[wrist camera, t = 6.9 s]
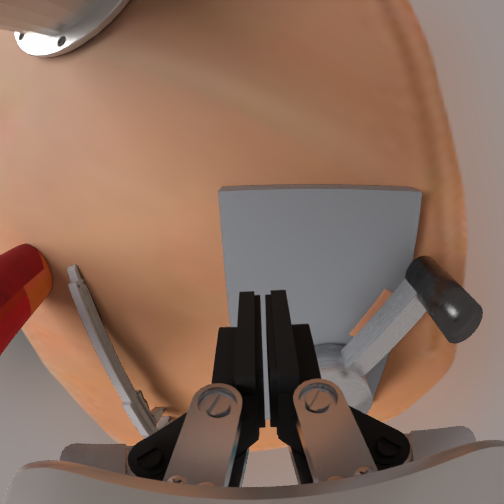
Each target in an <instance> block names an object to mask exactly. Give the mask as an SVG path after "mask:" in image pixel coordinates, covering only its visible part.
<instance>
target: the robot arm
mask: <svg viewBox="0 0 504 504" xmlns="http://www.w3.org/2000/svg"><path fill="white" fill-rule="evenodd" d="M129 1H130V0H0V29H3V30H8V31H13V32H15V38H16V41H17V44H18V46H19V47H20V48H21V50H22V51H24V52H25V53H27V54H28V55H32V56H36V57H45V58H49V57H55V56H59V55H62V54H65V53H67V52H70V51H72V50H74V49H75V48H77V47H79V46H81V45H83V44H84V43H86V42H87V41H88V40H90V39H91V38H93V37H94V36H96V35H97V34H98V33H99V32H100V31H101V30H102V29H104V28H105V27H106V26H107V25H108V24H109V23H110V22H111V21H112V20H113V19H114V18H115V17H116V16H117V15H118V14H119V13H120V12H121V11H122V10H123V8H124V7H125V6H126V4H127V3H128V2H129ZM265 310H266V343H267V366H268V386H269V406H270V426H271V427H277V435H278V438H279V439H280V440H281V441H283V442H284V443H286V444H287V445H288V448H289V452H290V455H291V460H292V463H293V467H294V470H295V474H296V478H297V481H298V485H290V486H276V487H242V484H243V479H244V473H245V469H246V464H247V459H248V454H249V447H250V446H251V445H252V444H254V443H255V442H256V441H257V440H258V439H259V428H262V427H265V402H264V374H263V348H262V324H261V300H260V295H255V294H254V291H245V292H239V305H238V320H237V327H220V328H219V332H218V339H217V346H216V354H215V362H214V369H213V377H212V384H210V385H207V386H205V387H203V388H201V389H200V390H199V391H197V392H196V393H195V395H194V397H193V399H192V401H191V404H190V407H189V410H188V412H187V413H185V414H184V415H182V416H181V417H179V418H177V419H176V420H174V421H173V422H171V423H170V424H168V425H166V426H165V427H163V428H162V429H160V430H158V431H157V432H155V433H153V434H152V435H150V436H148V437H147V438H145V439H143V440H142V441H140V442H138V443H137V444H136V445H134V446H126V444H82V443H75V444H70V445H69V446H66V447H65V448H64V450H63V451H62V453H61V456H60V461H57V460H55V461H54V460H45V461H37V462H32V463H28V464H26V465H24V466H23V467H21V468H20V469H19V470H18V471H17V473H16V474H15V476H14V477H13V479H12V481H11V483H10V485H9V486H8V489H7V491H6V494H5V496H4V499H3V502H2V504H504V441H502V440H484V441H477V442H476V439H475V436H474V434H473V432H472V431H471V430H470V429H469V428H466V427H464V426H456V427H448V428H440V429H430V430H419V431H411V432H410V433H409V434H403V433H401V432H400V431H398V430H396V429H394V428H392V427H390V426H388V425H386V424H384V423H382V422H380V421H378V420H376V419H374V418H372V417H370V416H368V415H366V414H364V413H362V412H361V411H359V410H357V409H355V408H353V407H351V406H349V405H348V403H347V401H346V399H345V397H344V395H343V392H342V391H341V389H340V388H339V386H337V385H336V384H335V383H333V382H331V381H329V380H326V379H321V374H320V369H319V365H318V361H317V356H316V352H315V347H314V343H313V339H312V335H311V330H310V326H309V324H308V323H307V324H291V318H290V312H289V306H288V300H287V295H286V290H271V294H267V295H265Z"/></svg>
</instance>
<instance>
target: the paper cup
mask: <svg viewBox="0 0 504 504" xmlns="http://www.w3.org/2000/svg"><path fill="white" fill-rule="evenodd" d="M52 285H53V279H52V273H51V270H50V267H49V265H48V263H47V261H46V260H45V258H44V257H43V255H42V254H41V253H40V252H39V251H38V250H37V249H36V248H35V247H33V246H31V245H29V244H22V245H19V246H17V247H15V248H13V249H11V250H9V251H7V252H5V253H3V254H2V255H0V355H1V354H2V352H3V351H4V350H5V348H6V347H7V345H8V344H9V343H10V342H11V340H12V339H13V338H14V336H15V335H16V334H17V332H18V331H19V330H20V329H21V327H22V326H23V325H24V324H25V322H26V321H27V320H28V319H29V318H30V316H31V315H32V314H33V313H34V311H35V310H36V309H37V308H38V307H39V305H40V304H41V303H42V302H43V301H44V299H45V298H46V297H47V296H48V294H49V293H50V291H51V289H52Z"/></svg>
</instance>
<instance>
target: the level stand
mask: <svg viewBox="0 0 504 504" xmlns="http://www.w3.org/2000/svg"><path fill="white" fill-rule="evenodd" d="M218 193H219V206H220V219H221V232H222V244H223V255H224V266H225V277H226V288H227V298H228V308H229V318H230V327H237V320H238V305H239V292H245V291H254V294H255V295H260V300H261V324H262V348H263V374H264V402H265V420H266V419H270V406H269V386H268V366H267V343H266V310H265V295H267V294H271V290H286V295H287V300H288V306H289V312H290V318H291V324H307V323H308V324H309V326H310V330H311V335H312V339H313V343H314V346H316V345H323V344H335V345H341V346H344V347H345V346H346V345H347V344H348V343H349V342H350V341H351V340H352V339H353V337H354V336H355V335H356V334H357V333H358V332H359V331H360V330H361V329H362V328H363V327H364V326H365V325H366V323H367V322H368V321H369V320H370V319H371V318H372V317H373V316H374V314H375V313H376V312H377V311H378V310H379V309H380V308H381V306H382V305H383V304H384V303H385V302H386V301H387V299H388V298H389V297H390V296H391V295H392V293H393V292H394V291H395V290H396V289H397V287H398V286H399V285H400V284H401V282H402V281H403V280H404V279H405V273H406V270H407V268H408V267H409V265H410V264H411V263H412V261H413V256H414V250H415V244H416V238H417V231H418V224H419V216H420V208H421V199H422V192H421V191H419V190H416V189H414V188H412V187H396V186H374V185H332V184H293V185H251V186H227V187H221V189H220V190H219V191H218ZM389 352H390V351H389ZM389 352H388V353H387V354H386V355H385V356H384V357H383V358H382V359H381V360H380V361H379V362H378V363H377V364H376V365H375V366H374V367H373V368H372V369H371V370H370V371H369V372H367V373H366V374H365V376H366V379H367V382H368V385H369V388H370V391H371V394H372V398H373V397H374V395H375V392H376V390H377V387H378V384H379V382H380V379H381V376H382V373H383V370H384V367H385V364H386V361H387V358H388V355H389Z"/></svg>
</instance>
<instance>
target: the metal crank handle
mask: <svg viewBox="0 0 504 504" xmlns="http://www.w3.org/2000/svg"><path fill="white" fill-rule="evenodd" d="M426 311H427V312H428V313H429V315H430V316H431V317H432V319H433V320H434V322H435V323H436V324H437V326H438V327H439V329H440V330H441V331H442V333H443V334H444V336H445V337H446V338H447V340H448V341H449V342H450V343H459V342H462V341H464V340H466V339H467V338H468V337H470V336H471V335H472V333H474V332H475V330H476V329H477V328H478V326H479V324H480V322H481V319H482V313H483V312H482V308H481V306H480V305H479V304H478V303H477V302H476V301H475V300H474V299H473V298H472V297H471V296H470V295H469V294H468V293H467V292H466V291H465V290H464V289H463V288H462V287H461V286H460V285H459V284H458V283H457V282H456V281H455V280H454V279H453V278H452V277H451V276H450V275H449V274H448V273H447V272H446V271H445V270H444V269H443V268H442V267H441V266H440V265H439V264H437V263H436V262H435V261H434V260H433V259H432V258H431V257H428V256H421V257H419V258H417V259H415V260H414V261H413V262H412V263H411V264H410V265H409V267H408V268H407V270H406V273H405V279H404V280H403V281H402V282H401V284H400V285H399V286H398V287H397V289H396V290H395V291H394V292H393V293H392V295H391V296H390V297H389V298H388V299H387V301H386V302H385V303H384V304H383V305H382V306H381V308H380V309H379V310H378V311H377V312H376V313H375V314H374V316H373V317H372V318H371V319H370V320H369V321H368V322H367V323H366V325H365V326H364V327H363V328H362V329H361V330H360V331H359V332H358V333H357V334H356V335H355V336H354V337H353V339H352V340H351V341H350V342H349V343H348V344H347V345H346V346H345V347H344V346H341V345H335V344H323V345H316V346H314V347H315V352H316V356H317V361H318V365H319V369H320V374H321V379H326V380H329V381H331V382H333V383H335V384H336V385H337V386H339V388H340V389H341V391H342V392H343V395H344V397H345V399H346V401H347V403H348V405H349V406H351V407H353V408H355V409H357V410H359V411H361V412H362V413H364V414H367V413H368V412H369V410H370V408H371V406H372V402H373V398H372V394H371V391H370V388H369V385H368V382H367V379H366V376H365V374H366V373H367V372H369V371H370V370H371V369H372V368H373V367H374V366H375V365H376V364H377V363H378V362H379V361H380V360H381V359H382V358H383V357H384V356H385V355H386V354H387V353H388V352H389V351H390V350H391V349H392V348H393V347H394V346H395V345H396V344H397V343H398V342H399V341H400V340H401V339H402V338H403V337H404V336H405V335H406V334H407V333H408V331H409V330H410V329H411V328H412V327H413V326H414V325H415V324H416V323H417V322H418V320H419V319H420V318H421V317H422V316H423V315H424V314H425V312H426Z"/></svg>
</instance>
